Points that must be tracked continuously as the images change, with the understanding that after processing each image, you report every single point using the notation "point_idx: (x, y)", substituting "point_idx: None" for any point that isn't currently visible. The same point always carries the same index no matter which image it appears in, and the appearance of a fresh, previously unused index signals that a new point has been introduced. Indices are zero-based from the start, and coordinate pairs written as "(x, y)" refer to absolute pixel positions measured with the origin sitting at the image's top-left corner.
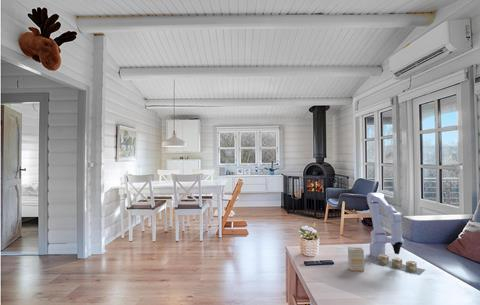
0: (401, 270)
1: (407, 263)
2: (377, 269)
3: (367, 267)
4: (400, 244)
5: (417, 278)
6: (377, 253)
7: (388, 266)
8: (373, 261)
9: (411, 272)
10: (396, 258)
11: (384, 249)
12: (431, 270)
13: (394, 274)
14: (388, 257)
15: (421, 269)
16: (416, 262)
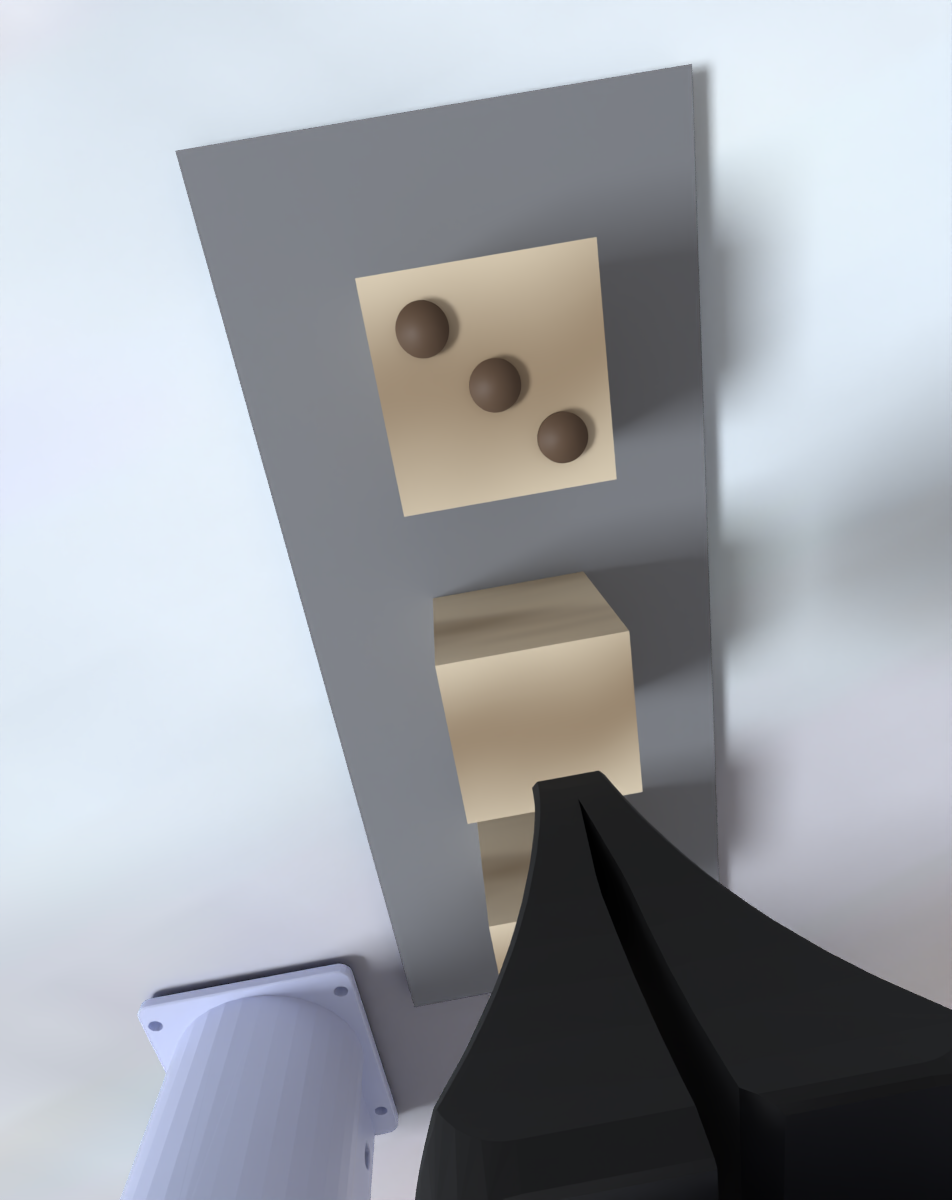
0: (702, 475)
1: (606, 431)
2: (898, 751)
3: (916, 867)
4: (934, 1065)
5: (852, 38)
6: (355, 1107)
7: (675, 720)
8: None
9: (657, 284)
10: (533, 748)
11: (208, 1157)
12: (21, 64)
13: (943, 470)
14: (497, 894)
15: (263, 230)
16: (364, 277)
